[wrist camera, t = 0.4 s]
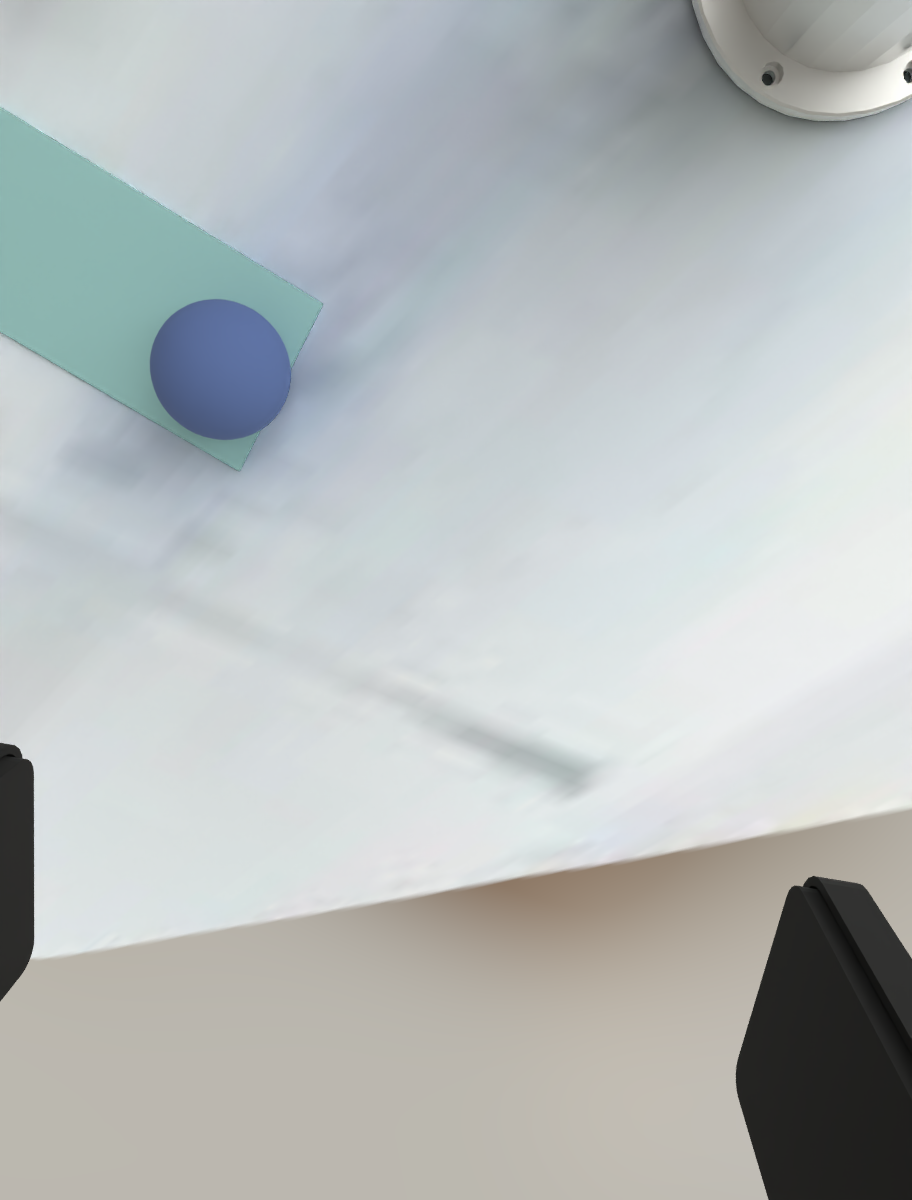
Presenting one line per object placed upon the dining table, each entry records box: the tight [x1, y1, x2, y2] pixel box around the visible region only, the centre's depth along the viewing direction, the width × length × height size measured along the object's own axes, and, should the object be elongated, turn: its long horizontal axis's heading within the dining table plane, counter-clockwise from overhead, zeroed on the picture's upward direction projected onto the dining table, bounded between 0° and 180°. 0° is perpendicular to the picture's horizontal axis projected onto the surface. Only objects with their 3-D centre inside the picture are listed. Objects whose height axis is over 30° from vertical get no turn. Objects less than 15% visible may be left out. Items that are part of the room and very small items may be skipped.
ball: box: [150, 299, 291, 440], centre depth 38 cm, size 6×6×6 cm
